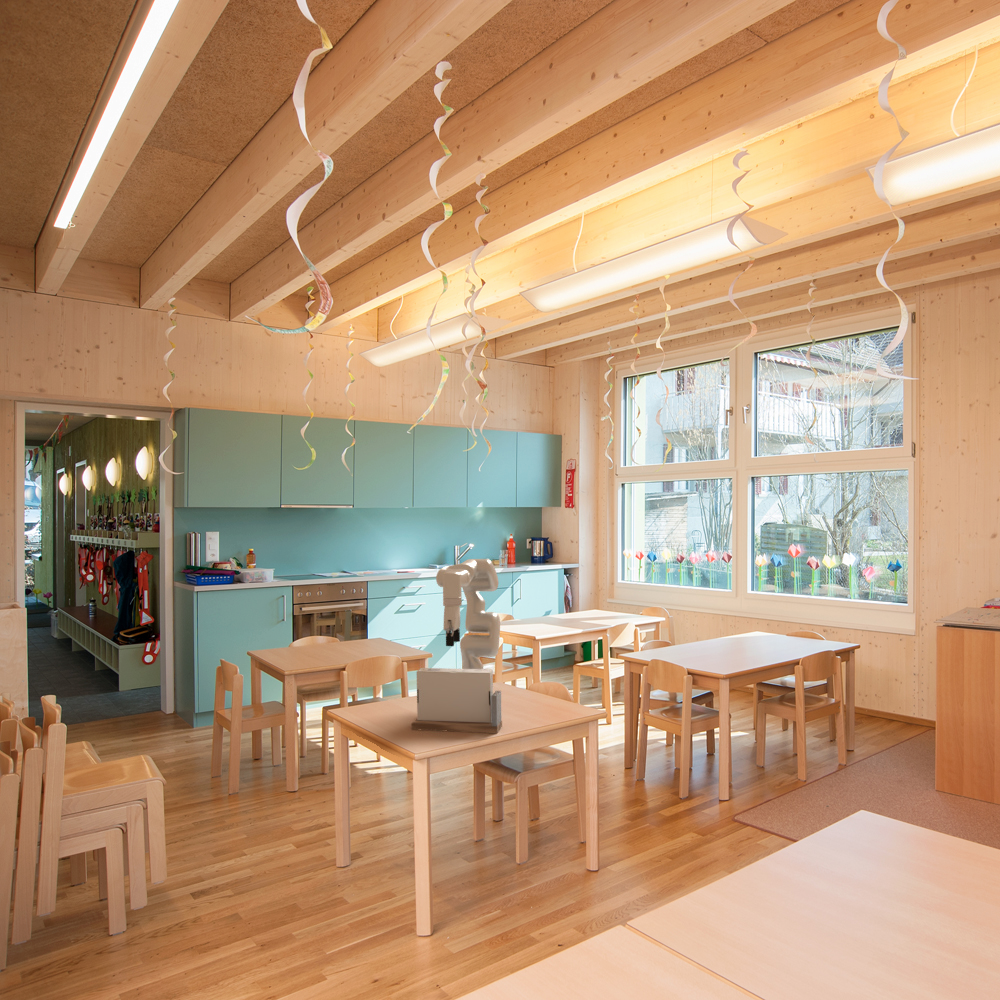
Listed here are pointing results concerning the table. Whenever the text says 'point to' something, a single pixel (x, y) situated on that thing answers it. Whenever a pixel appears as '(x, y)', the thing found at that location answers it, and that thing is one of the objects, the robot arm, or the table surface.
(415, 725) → the shelf
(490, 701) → the packaging
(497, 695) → the bookend
